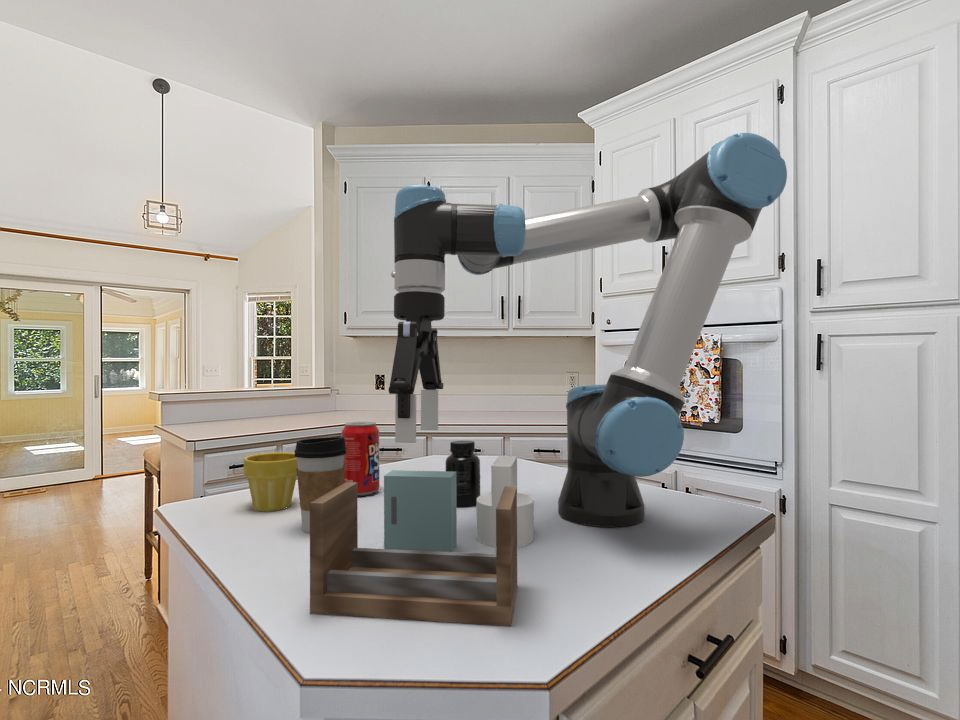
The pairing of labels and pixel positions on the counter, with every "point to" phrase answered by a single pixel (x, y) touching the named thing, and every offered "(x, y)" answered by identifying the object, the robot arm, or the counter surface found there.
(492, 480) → the cylinder with rectangular tab
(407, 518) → the door panel
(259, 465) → the plant pot
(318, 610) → the wooden book rack
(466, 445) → the supplement bottle
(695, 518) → the counter surface
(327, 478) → the coffee cup
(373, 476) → the soda can
